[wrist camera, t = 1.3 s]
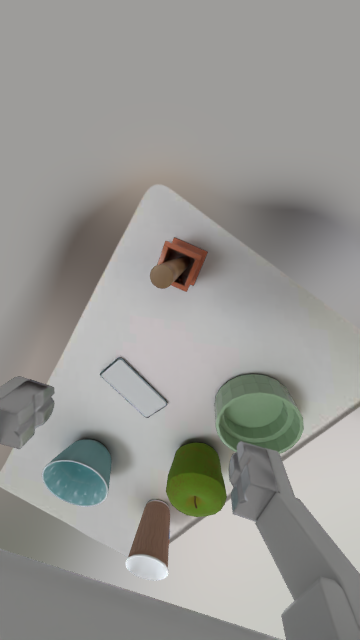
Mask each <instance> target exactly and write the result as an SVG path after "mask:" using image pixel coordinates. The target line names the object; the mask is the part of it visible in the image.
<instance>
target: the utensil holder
mask: <svg viewBox="0 0 360 640" xmlns="http://www.w3.org/2000/svg"><path fill="white" fill-rule="evenodd" d="M207 253H208V252H207V251H205V250H202V249H200V248H198V247H195V246H193V245H191V244H188V243H186V242H184V241H182V240H179V239H177V238H175V237H174V239H173V241H172V242H170V241H165V244H164V247H163V249H162V252H161V255H160V258H159V261H158V264H157V265H159V264H162V263H165V262H168V261H171V260H173V259H176V258H179V257H182V256H186V257H188V258H189V260H190V264H189V266H188V267H187V268H186V269H185V270H184V272H183V273H182V274H181V275H180V276H179V277H178V278H177V279H176V280H175V281H174V282H173V283H172V284H171V285H172V286H174V287H176V288H179V289H181V290H183V291H186V292H187V290H188V288H189V286H190V285H194V283H195V281H196V278H197V276H198V274H199V271H200V269H201V267H202V265H203V262H204V260H205V258H206V255H207Z"/></svg>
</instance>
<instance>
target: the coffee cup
mask: <svg viewBox="0 0 360 640" xmlns="http://www.w3.org/2000/svg"><path fill="white" fill-rule="evenodd" d="M169 525H170V508H169V506H168V505H167V504H166V503H165V502H163V501H161V500H151V501H149V502H148V503H147V504H146V507H145V509H144V512H143V515H142V518H141V521H140V524H139V527H138V530H137V533H136V536H135V539H134V541H133V544H132V547H131V550H130V553H129V557H128V558H127V560H126V567H127V568H128V570H129V571H130V572H131V573H133V574H134V575H136V576H138V577H140V578H143V579H147V580H162V579H164V578H166V577H167V575H168V548H169V534H170V531H169Z"/></svg>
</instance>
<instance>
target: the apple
mask: <svg viewBox="0 0 360 640" xmlns="http://www.w3.org/2000/svg"><path fill="white" fill-rule="evenodd" d="M166 493H167V496H168V498H169V500H170V502H171V504H172V505H173V506H174V507H175V508H176V509H177V510H178V511H180V512H182V513H184V514H186V515H189V516H194V517H202V516H209V515H213V514H216V513H217V512H218V511H220V510H221V509H222V507H223V506H224V505H225V501H226V497H227V496H226V490H225V484H224V480H223V476H222V473H221V466H220V459H219V456H218V454H217V452H216V451H215V450H214V449H213V448H212V447H210V446H208V445H207V444H205V443H190V444H186V445H184V446H182V447H180V448H179V449H178V450H177V451H176V454H175V457H174V460H173V463H172V466H171V469H170V471H169V474H168V480H167V487H166Z"/></svg>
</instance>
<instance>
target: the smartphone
mask: <svg viewBox="0 0 360 640" xmlns="http://www.w3.org/2000/svg"><path fill="white" fill-rule="evenodd" d="M100 376H101V377H102V378H103V379H104V380H105V381H106V382H108V383H109V384H110V385H111V386H112V387H113V388H114V389H115V390H116V391H117V392H118V393H119V394H120V395H122V396H123V397H124V398H125V399H126V400H127V401H128V402H129V403H130V404H131V405H132V406H133V407H135V408H136V409H137V410H138V411H139V412H140V413H141V414H142V415H143V416H144V417H146V418H148V417H150V416H151V415H153V414H154V413H156V412H158V411H159V410H161V409H162V408H164V407H165V406H166V405H167V402H166V401H165V400H164V399H163V398H162V397H161V396H160V395H159V394H158V393H157V392H156V391H155V390H154V389H153V388H152V387H151V386H150V385H149V384H148V383H147V382H146V381H145V380H144V379H143V378H142V377H141V376H140V375H139V374H138V373H137V372H136V371H134V370H133V369H132V368H131V367H130V366H129V365H128V364H127V363H126V362H125V361H124V360H123V359H122V358H117V359H116V360H115V361H114V362H113V363H112V364H110V365H109V366H108V367H107V368H106V369H104V370H103V371H102V372H101V373H100Z"/></svg>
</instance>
